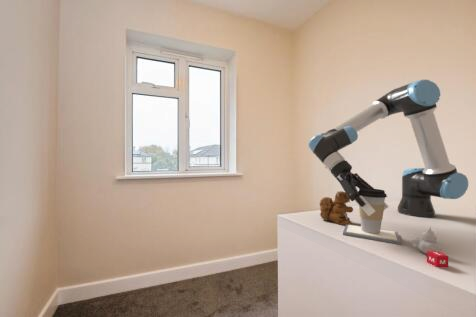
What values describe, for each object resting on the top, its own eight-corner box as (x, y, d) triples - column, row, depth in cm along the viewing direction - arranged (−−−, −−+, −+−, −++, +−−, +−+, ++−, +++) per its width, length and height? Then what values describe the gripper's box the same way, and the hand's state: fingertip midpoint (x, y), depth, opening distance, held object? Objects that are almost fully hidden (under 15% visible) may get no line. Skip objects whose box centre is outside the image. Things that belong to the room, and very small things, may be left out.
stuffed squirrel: (351, 226, 92) (352, 194, 92) (315, 221, 99) (316, 190, 99) (354, 221, 100) (354, 191, 100) (320, 216, 108) (321, 188, 108)
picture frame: (397, 234, 84) (397, 231, 84) (401, 244, 73) (401, 241, 73) (346, 226, 92) (346, 223, 92) (342, 234, 82) (343, 231, 82)
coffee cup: (377, 227, 87) (378, 188, 87) (391, 236, 78) (393, 192, 78) (351, 226, 88) (352, 187, 88) (362, 234, 79) (363, 191, 79)
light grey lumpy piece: (440, 259, 63) (441, 230, 63) (410, 252, 67) (411, 225, 67) (441, 254, 67) (442, 226, 67) (412, 247, 71) (413, 221, 71)
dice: (448, 267, 58) (448, 256, 58) (436, 267, 58) (437, 256, 58) (437, 262, 61) (437, 251, 61) (426, 262, 61) (426, 251, 61)
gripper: (345, 171, 102) (382, 212, 90) (315, 172, 87) (356, 222, 75) (357, 159, 98) (399, 201, 86) (328, 159, 83) (374, 209, 71)
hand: (379, 211), depth 81 cm, fingers open, 12 cm apart
